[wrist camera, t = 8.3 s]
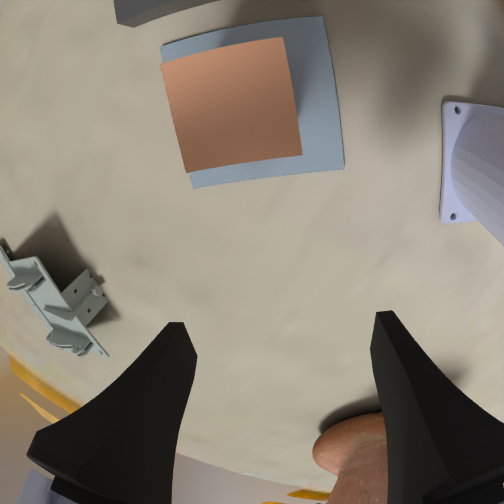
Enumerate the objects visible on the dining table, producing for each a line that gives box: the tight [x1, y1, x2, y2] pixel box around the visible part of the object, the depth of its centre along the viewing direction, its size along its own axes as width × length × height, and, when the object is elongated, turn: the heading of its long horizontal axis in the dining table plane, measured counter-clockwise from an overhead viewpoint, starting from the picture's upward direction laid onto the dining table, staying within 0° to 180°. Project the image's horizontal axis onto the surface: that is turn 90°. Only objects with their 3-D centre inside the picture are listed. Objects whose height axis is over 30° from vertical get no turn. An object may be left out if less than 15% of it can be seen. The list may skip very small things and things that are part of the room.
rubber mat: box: [160, 16, 344, 189], centre depth 15 cm, size 9×9×1 cm
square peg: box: [160, 37, 303, 173], centre depth 12 cm, size 4×4×7 cm
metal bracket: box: [0, 245, 109, 358], centre depth 25 cm, size 14×6×15 cm
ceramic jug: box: [312, 412, 388, 504], centre depth 26 cm, size 18×14×14 cm
